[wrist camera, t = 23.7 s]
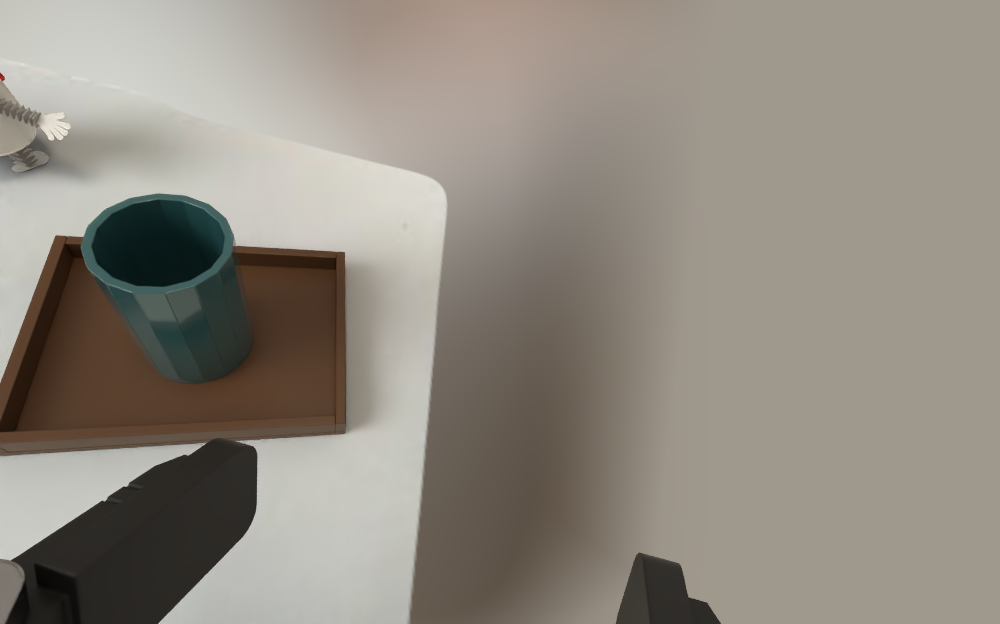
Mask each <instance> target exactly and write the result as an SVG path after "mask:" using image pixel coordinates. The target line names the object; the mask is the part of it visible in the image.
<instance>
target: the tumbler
mask: <svg viewBox="0 0 1000 624" xmlns="http://www.w3.org/2000/svg"><path fill="white" fill-rule="evenodd" d="M81 251H82V254H83V257H84V260H85V264H86V267H87V268H88V270H89V272H90V273H91V275H92V276H93V278H94V279H95V281H96V282H97V284H98V286H99V287H100V289H101V290H102V292H103V293H104V295H105V297H106V298H107V300H108V301H109V303H110V304H111V306H112V307H113V309H114V311H115V312H116V314H117V315H118V317H119V318H120V320H121V322H122V323H123V325H124V326H125V328H126V329H127V331H128V332H129V334H130V336H131V337H132V339H133V340H134V342H135V343H136V345H137V347H138V348H139V350H140V351H141V353H142V354H143V356H144V357H145V359H146V361H147V362H148V363H150V365H151V366H152V367H153V368H154V370H155V371H157V372H158V373H159V374H160V375H162V376H164V377H166V378H168V379H170V380H173V381H177V382H181V383H204V382H209V381H213V380H216V379H219V378H221V377H224V376H226V375H227V374H229V373H231V372H232V371H234V370H235V369H236V368H238V367H239V366H240V365H241V364H242V363H243V362H244V361H245V359H246V358H247V357H248V355H249V353H250V351H251V349H252V346H253V341H254V333H253V323H252V318H251V314H250V309H249V304H248V300H247V295H246V290H245V286H244V281H243V276H242V272H241V267H240V262H239V258H238V253H237V248H236V243H235V239H234V235H233V233H232V230H231V228H230V226H229V224H228V221H227V219H226V218H225V217H224V216H223V215H221V214H220V213H219V212H218V211H216V210H215V209H214V208H213V207H212V206H210V205H209V204H206V203H204V202H201V201H198V200H196V199H193V198H190V197H188V196H181V195H170V194H152V195H146V196H140V197H134V198H131V199H130V198H129V199H127V200H125V201H123V202H120V203H118V204H116V205H114V206H111V207H109V208H107V209H106V210H104V211H103V212H102V213H101V214H100V215H99V216H98V217H97V218H96V219H95V220H93V221H92V222H91V223H90V224H89V225H88V227H87V229H86V232H85V235H84V238H83V241H82V244H81Z"/></svg>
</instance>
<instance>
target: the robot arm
mask: <svg viewBox="0 0 1000 624" xmlns="http://www.w3.org/2000/svg"><path fill="white" fill-rule="evenodd" d="M256 505H257V451H256V449H255V448H254V447H253V446H250V445H246V444H243V443H239V442H235V441H231V440H228V439H224V438H215V439H213V440H211V441H209V442H208V443H207V444H205V445H204V446H202V447H201V448H199V449H198V450H196V451H195V452H193V453H192V454H191V455H189V456H187V455H183V456H180V457H177V458H175V459H172V460H170V461H167V462H165V463H162V464H159V465H157V466H154V467H153V468H151V469H150V470H148V471H147V472H145V473H144V474H142V475H141V476H139V477H138V478H136V479H134V480H133V481H131V482H130V483H129V485H128V486H127V487H122V488H121V489H119V490H118V491H116V492H115V493H113V494H112V495H110V496H109V497H108V498H107V500H106V501H105V502H104V501H101V502H100V503H98V504H96V505H95V506H93V507H92V508H90V509H89V510H87V511H86V512H84V513H83V514H81V515H80V516H78V517H77V518H75V519H74V520H72V521H71V522H69V523H68V524H66V525H65V526H63V527H62V528H60V529H58V530H57V531H55V532H54V533H52V534H51V535H49V536H48V537H46V538H45V539H43V540H42V541H40V542H39V543H37V544H36V545H34V546H33V547H31V548H30V549H28V550H27V551H25V552H24V553H22V554H21V555H19V556H17V557H16V558H14V559H12V560H11V561H9V560H3V559H0V624H158V623H159V622H160V621H161V620H162V619H163V618H164V617H165V616H166V615H167V614H168V613H169V612H170V611H171V610H172V609H173V608H174V607H175V606H176V605H177V604H178V603H179V602H180V601H181V600H182V598H183V597H184V596H185V595H186V594H187V593H188V592H189V591H190V590H191V589H192V588H193V587H194V586H195V585H196V584H197V583H198V582H199V581H200V580H201V579H202V578H203V577H204V576H205V575H206V574H207V573H208V572H209V571H210V570H211V569H212V568H213V567H214V566H215V565H216V564H217V563H218V562H219V561H220V560H221V559H222V558H223V557H224V556H225V555H226V554H227V552H228V551H229V550H230V549H231V548H232V547H233V546H234V545H235V544H236V543H237V542H238V541H239V540H240V539H241V538H242V537H243V536H244V534H245V533H246V532H247V530H248V529H249V527H250V525H251V523H252V521H253V518H254V515H255V512H256ZM616 624H721V623H720V622H719V620H718V619H717V617H716V616H715V614H714V613H713V611H712V610H711V608H710V607H709V605H708V603H706V602H703V601H699V600H696V599H692V598H689V597H688V594H687V590H686V585H685V580H684V576H683V571H682V568H681V566H680V564H679V563H676V562H672V561H668V560H665V559H661V558H657V557H654V556H649V555H646V554H643V553H638V554H637V555H636V558H635V560H634V563H633V566H632V570H631V573H630V576H629V579H628V583H627V586H626V589H625V592H624V596H623V599H622V602H621V605H620V609H619V612H618V617H617V621H616Z"/></svg>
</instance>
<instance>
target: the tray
mask: <svg viewBox="0 0 1000 624" xmlns="http://www.w3.org/2000/svg"><path fill="white" fill-rule="evenodd" d="M83 238H84V237H72V236H68V237H67V236H55V239H54V241H53V244H52V247H51V249H50V252H49V255H48V257H47V260H46V263H45V265H44V268H43V271H42V273H41V276H40V279H39V281H38V284H37V287H36V289H35V292H34V295H33V297H32V300H31V303H30V305H29V308H28V311H27V313H26V316H25V319H24V321H23V324H22V327H21V329H20V332H19V335H18V337H17V340H16V343H15V345H14V348H13V351H12V353H11V356H10V359H9V362H8V364H7V367H6V370H5V372H4V375H3V378H2V380H1V383H0V456H3V455H19V454H35V453H50V452H66V451H82V450H97V449H113V448H129V447H144V446H160V445H176V444H191V443H207V442H209V441H211V440H213V439H215V438H224V439H228V440H231V441H238V440H254V439H270V438H285V437H301V436H317V435H332V434H344V433H345V425H346V362H345V252H331V251H314V250H297V249H279V248H262V247H245V246H236V248H237V253H238V258H239V262H240V267H241V272H242V276H243V281H244V286H245V290H246V295H247V300H248V304H249V309H250V314H251V318H252V323H253V333H254V341H253V346H252V349H251V351H250V353H249V355H248V357H247V358H246V359H245V361H244V362H243V363H242V364H241V365H240V366H239V367H238V368H236V369H235V370H234V371H232V372H231V373H229V374H227V375H226V376H224V377H221V378H219V379H216V380H213V381H209V382H204V383H181V382H177V381H173V380H170V379H168V378H166V377H164V376H162V375H160V374H159V373H158V372H157V371H155V370H154V368H153V367H152V366H151V365H150V363H148V362H147V361H146V359H145V357H144V356H143V354H142V353H141V351H140V350H139V348H138V347H137V345H136V343H135V342H134V340H133V339H132V337H131V336H130V334H129V332H128V331H127V329H126V328H125V326H124V325H123V323H122V322H121V320H120V318H119V317H118V315H117V314H116V312H115V311H114V309H113V307H112V306H111V304H110V303H109V301H108V300H107V298H106V297H105V295H104V293H103V292H102V290H101V289H100V287H99V286H98V284H97V282H96V281H95V279H94V278H93V276H92V275H91V273H90V272H89V270H88V268H87V267H86V264H85V260H84V257H83V254H82V251H81V244H82V241H83Z"/></svg>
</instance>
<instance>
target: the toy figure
mask: <svg viewBox="0 0 1000 624" xmlns="http://www.w3.org/2000/svg"><path fill="white" fill-rule="evenodd" d="M3 80H5V77H4V76H3V75H2V74H1V73H0V157H1V156H5V155H9V154H10V155H9V156H8V158H12V159H14V160H13V161H12V163H16V164H15V165H13V166H12V168H11V169H12V170H13V171H14V172H23V171H27V170H29V169H32V168H34V167H37V166H40V165H43V164H45V163H46V162H47V161H48V159H49V157H48V155H47V154H46V153H44V152H42V151H34V152H32V151H31V149H29V148H27V147H28V145H29V144H30V143H31V142H32V141H33V139H34V138H35V137H36V133H37V127H38V126H39V125H40V127H41V129H42V130H43V131H44V132H45V133H46V135H47V137H48V139H49V140H52V141H53V140H54V139H55V138H54V136H53V134H54V135H55V137H56V138H57V139H59V140H62V139H63V136H62V135H64V136H66V135H68V131H67V130H68V129H71V125H70V124H68V123H64V122H60V121H57V120H58V119H63V118H65V113H63V112H60V113H56V114H47V115H45V114H41V112H39V113H38V114H37V113H36V110H34V111H33V112H31V110H30V108H28V109H25V108H24V105H22V106H21V105H20V104H19V103H18V101H17V100H16V99H15V97H14V96H13V95H12V94H11V92H10V91H9V90H8V88H7V87H6V86H5V84H4V83H3V82H2V81H3ZM57 125H58V126H57ZM59 126H61V127H63V128H65V129H67V130H65V129H63V128H61V127H59ZM57 130H58V131H59V132H60V133H61V134H62V135H61V134H60V133H59V132H58V131H57ZM51 131H52V132H51ZM52 133H53V134H52ZM31 152H32V153H31Z"/></svg>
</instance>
